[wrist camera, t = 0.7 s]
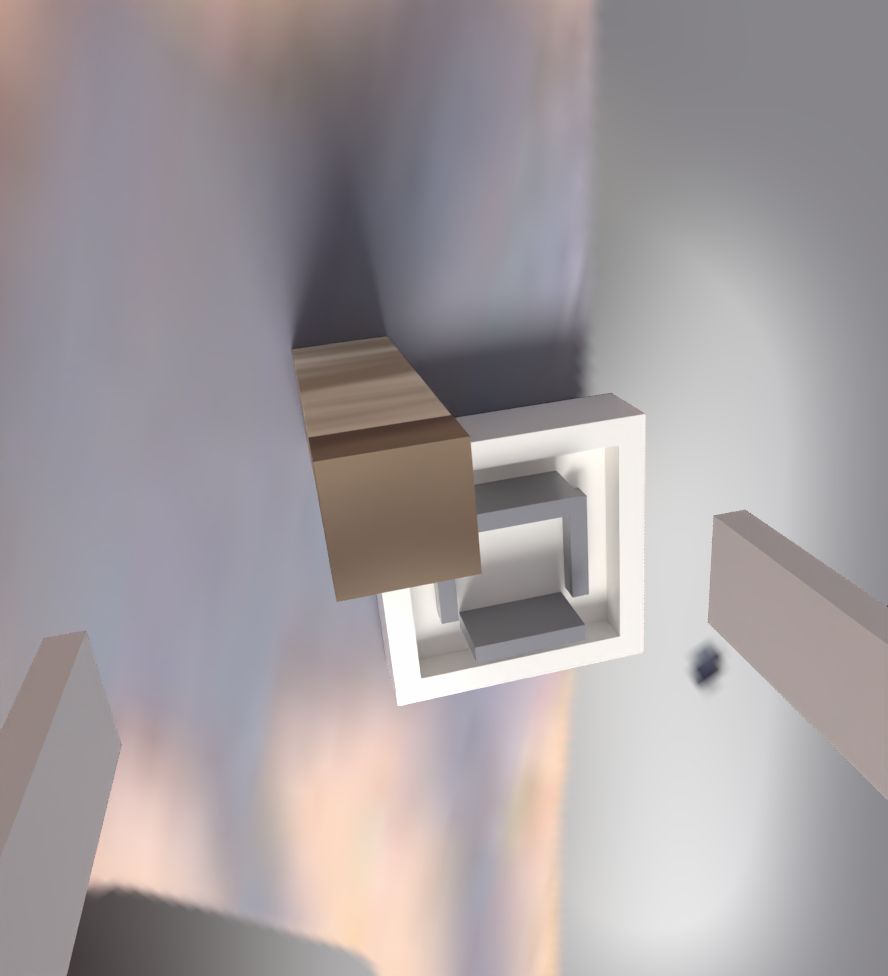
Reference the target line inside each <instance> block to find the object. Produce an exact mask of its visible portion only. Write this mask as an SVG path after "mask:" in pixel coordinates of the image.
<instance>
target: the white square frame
mask: <svg viewBox="0 0 888 976" xmlns="http://www.w3.org/2000/svg"><path fill="white" fill-rule="evenodd" d="M645 417H646V414H645V413H643V412H642V411H640V410H638V409H637V408H635V407H633V406H632V405H630V404H628V403H627V402H625V401H623V400H622V399H620V398H619V397H617V396H615V395H614V394H612V393H608V394H602V395H595V396H589V397H583V398H576V399H570V400H564V401H557V402H551V403H545V404H538V405H532V406H526V407H519V408H513V409H507V410H500V411H494V412H488V413H481V414H475V415H469V416H462V417H456V420H457V421H458V422H459V423H460V424H461V426H462V427H463V428H464V429H465V431H466V432H467V433H468V434H469V435H470V439H471V451H472V463H473V475H474V487H475V499H476V511H477V522H478V534H479V546H480V558H481V570H482V574H478V575H473V576H468V577H463V578H457V579H452V580H447V581H442V582H437V583H432V584H426V585H421V586H416V587H411V588H406V589H401V590H395V591H390V592H385V593H380V594H377V601H378V608H379V615H380V621H381V628H382V635H383V642H384V649H385V656H386V663H387V666H388V670H389V674H390V678H391V681H392V685H393V689H394V693H395V696H396V700H397V704H398V706H401V705H405V704H410V703H414V702H419V701H424V700H428V699H433V698H437V697H442V696H446V695H451V694H456V693H460V692H465V691H469V690H474V689H478V688H483V687H488V686H492V685H497V684H501V683H506V682H511V681H515V680H520V679H524V678H529V677H533V676H538V675H543V674H547V673H552V672H556V671H561V670H566V669H570V668H575V667H579V666H584V665H588V664H593V663H597V662H602V661H607V660H611V659H615V658H620V657H625V656H629V655H634V654H639V653H643V652H644V645H643V644H644V535H645V533H644V532H645Z"/></svg>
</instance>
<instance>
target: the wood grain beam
mask: <svg viewBox="0 0 888 976" xmlns="http://www.w3.org/2000/svg"><path fill="white" fill-rule="evenodd" d="M291 350H292V355H293V361H294V367H295V373H296V379H297V385H298V390H299V396H300V402H301V408H302V414H303V420H304V426H305V431H306V437H307V443H308V448H309V453H310V459H311V464H312V469H313V475H314V480H315V485H316V490H317V496H318V501H319V506H320V512H321V517H322V522H323V527H324V533H325V539H326V545H327V550H328V556H329V562H330V568H331V573H332V579H333V584H334V589H335V595H336V600H337V602H339V601H344V600H349V599H354V598H359V597H364V596H370V595H375V594H380V593H385V592H390V591H395V590H401V589H406V588H411V587H416V586H421V585H426V584H432V583H437V582H442V581H447V580H452V579H457V578H463V577H468V576H473V575H478V574H482V570H481V558H480V546H479V534H478V522H477V511H476V499H475V487H474V475H473V463H472V451H471V439H470V435H469V434H468V433H467V432H466V431H465V429H464V428H463V427H462V426H461V424H460V423H459V422H458V421H457V420H456V418H455V417H454V416H453V415H451V414H450V413H449V411H448V410H447V409H446V408H445V406H444V405H443V404H442V403H441V402H440V400H439V399H438V398H437V397H436V395H435V394H434V393H433V392H432V391H431V389H430V388H429V387H428V386H427V384H426V383H425V382H424V381H423V379H422V378H421V377H420V376H419V375H418V373H417V372H416V371H415V370H414V368H413V367H412V366H411V365H410V364H409V362H408V361H407V360H406V359H405V357H404V356H403V355H402V354H401V352H400V351H399V350H398V349H397V348H396V346H395V345H394V344H393V343H392V341H391V340H390V339H389V338H388V337H387V336H384V337H377V338H370V339H363V340H355V341H348V342H341V343H334V344H326V345H319V346H312V347H305V348H298V349H291Z"/></svg>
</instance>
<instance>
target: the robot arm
mask: <svg viewBox="0 0 888 976" xmlns="http://www.w3.org/2000/svg"><path fill="white" fill-rule="evenodd" d="M708 623H709V624H710V625H711V626H712V627H713V628H714V629H715V630H716V631H717V632H718V633H719V634H720V635H721V636H722V637H723V638H724V639H725V640H726V641H727V642H728V643H729V644H730V645H731V646H732V647H733V648H734V649H735V650H736V651H737V652H738V653H739V654H740V655H741V656H742V657H743V658H744V659H745V660H746V661H747V662H749V664H750V665H751V666H752V667H753V668H755V670H757V671H758V672H759V673H760V674H761V675H762V676H763V677H764V678H765V679H766V680H767V681H768V682H769V683H770V684H771V685H772V686H773V687H774V688H775V689H776V690H777V691H778V692H779V693H780V694H781V695H782V696H783V697H784V698H785V699H786V700H787V701H788V702H789V703H790V704H791V705H792V706H793V707H794V708H795V709H796V710H797V711H798V712H799V713H800V714H801V715H802V716H803V717H804V718H805V719H806V720H807V721H808V722H809V723H810V724H811V725H812V726H813V727H814V728H815V729H816V730H817V731H818V732H819V733H820V734H821V735H822V736H823V737H824V738H825V739H826V740H827V741H828V742H829V743H830V744H831V745H832V746H833V747H834V748H835V749H836V750H837V751H838V752H839V753H840V754H841V755H842V756H843V757H844V758H845V759H846V760H847V761H848V762H849V763H850V764H852V766H854V768H855V769H856V770H857V771H859V772H860V774H862V775H863V776H864V777H865V778H866V779H867V780H868V781H869V782H870V783H871V784H872V785H873V786H874V787H875V788H876V789H877V790H878V791H879V792H880V793H881V794H882V795H883V796H884V797H885V798H886V799H887V800H888V606H885V605H884V604H883V603H881V602H880V601H878V600H877V599H875V598H874V597H872V596H871V595H869V594H868V593H866V592H865V591H863V590H862V589H861V588H859V587H857V586H856V585H855V584H853V583H852V582H850V581H849V580H847V579H846V578H845V577H843V576H842V575H840V574H839V573H837V572H836V571H834V570H833V569H831V568H829V567H828V566H827V565H825V564H824V563H823V562H821V561H819V560H818V559H816V558H815V557H814V556H812V555H811V554H809V553H808V552H806V551H805V550H804V549H802V548H801V547H799V546H798V545H796V544H795V543H793V542H792V541H790V540H789V539H787V538H786V537H785V536H783V535H782V534H780V533H778V532H777V531H776V530H774V529H773V528H771V527H770V526H768V525H767V524H765V523H764V522H762V521H761V520H760V519H758V518H757V517H755V516H754V515H752V514H751V513H749V512H748V511H746V510H742V511H736V512H730V513H725V514H720V515H714V518H713V537H712V557H711V575H710V594H709V612H708ZM121 745H122V744H121V741H120V737H119V734H118V731H117V728H116V725H115V721H114V718H113V715H112V712H111V709H110V705H109V702H108V699H107V696H106V692H105V689H104V686H103V683H102V680H101V676H100V673H99V670H98V667H97V663H96V660H95V657H94V654H93V651H92V647H91V644H90V641H89V638H88V635H87V631H81V632H75V633H70V634H64V635H59V636H53V637H48V638H44V639H43V641H42V643H41V645H40V648H39V650H38V652H37V654H36V656H35V658H34V661H33V663H32V665H31V667H30V669H29V671H28V674H27V676H26V678H25V680H24V682H23V684H22V686H21V689H20V691H19V693H18V695H17V697H16V699H15V702H14V704H13V706H12V708H11V710H10V712H9V715H8V717H7V719H6V721H5V723H4V725H3V728H2V730H1V732H0V976H66V975H67V971H68V967H69V962H70V958H71V954H72V950H73V945H74V941H75V937H76V933H77V929H78V925H79V921H80V916H81V912H82V908H83V904H84V900H85V896H86V891H87V887H88V883H89V879H90V875H91V870H92V866H93V862H94V858H95V854H96V850H97V845H98V841H99V837H100V833H101V829H102V825H103V820H104V816H105V812H106V808H107V804H108V799H109V795H110V791H111V787H112V783H113V779H114V774H115V770H116V766H117V762H118V758H119V754H120V749H121Z"/></svg>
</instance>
